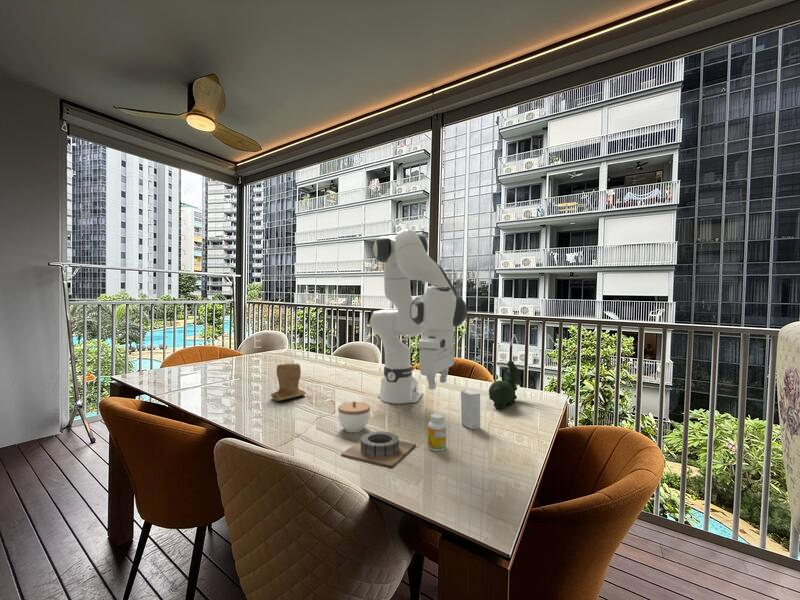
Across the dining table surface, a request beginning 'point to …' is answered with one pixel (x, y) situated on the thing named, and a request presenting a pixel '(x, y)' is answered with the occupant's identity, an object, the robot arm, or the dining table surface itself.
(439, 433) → the supplement bottle
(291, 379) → the brown flared stand
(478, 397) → the skincare box
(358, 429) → the lidded jar
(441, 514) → the dining table surface
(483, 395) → the dining table surface
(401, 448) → the grey ring on slab
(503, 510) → the dining table surface
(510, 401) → the toy figurine
